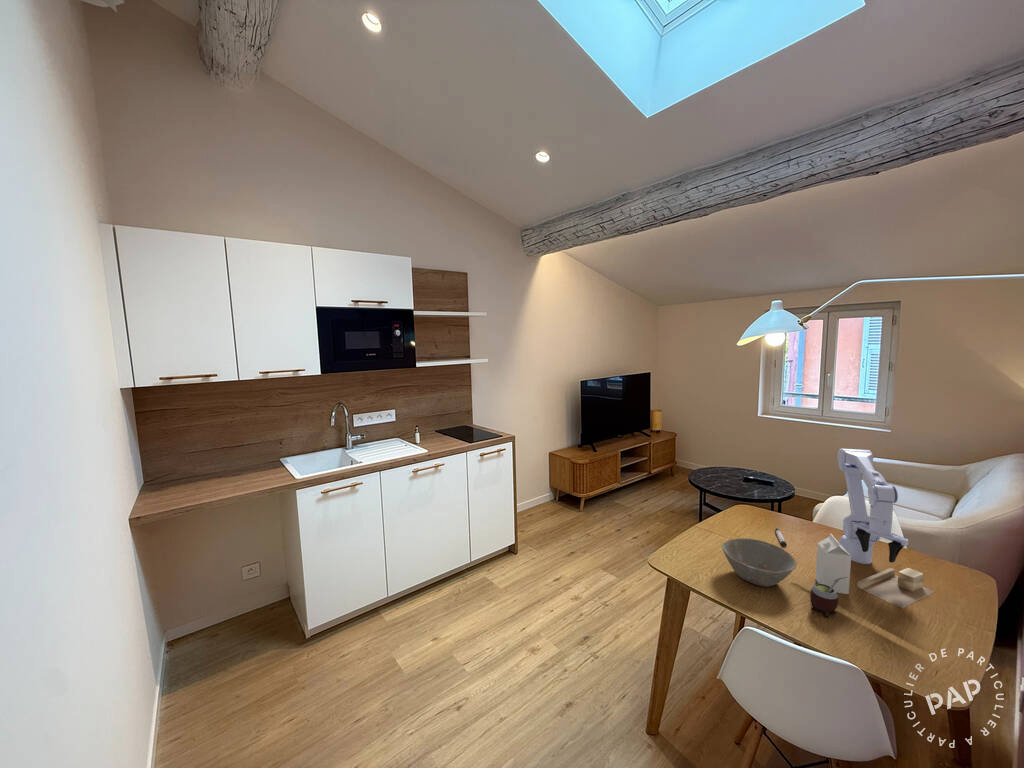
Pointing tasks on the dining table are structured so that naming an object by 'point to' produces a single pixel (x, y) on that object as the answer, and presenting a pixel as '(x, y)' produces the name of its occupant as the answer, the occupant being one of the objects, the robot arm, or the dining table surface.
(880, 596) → the pale wooden board
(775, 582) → the ceramic bowl
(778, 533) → the marker
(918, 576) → the block
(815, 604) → the mate gourd
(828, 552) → the milk carton
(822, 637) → the dining table surface
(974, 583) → the dining table surface
